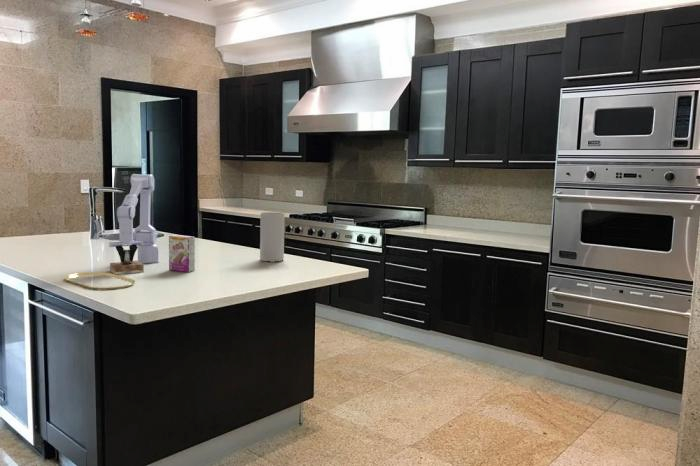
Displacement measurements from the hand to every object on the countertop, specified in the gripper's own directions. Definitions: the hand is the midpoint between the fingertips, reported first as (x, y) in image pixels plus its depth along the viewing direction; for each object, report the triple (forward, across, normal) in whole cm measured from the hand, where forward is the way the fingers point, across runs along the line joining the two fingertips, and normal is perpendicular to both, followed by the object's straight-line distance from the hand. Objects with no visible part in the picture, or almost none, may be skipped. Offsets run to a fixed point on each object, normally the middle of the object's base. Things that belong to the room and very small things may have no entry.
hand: (126, 261), depth 250 cm
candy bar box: (+5, +22, -10) cm, 25 cm away
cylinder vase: (+5, +73, -4) cm, 73 cm away
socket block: (+4, 0, 0) cm, 4 cm away
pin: (+3, 0, 0) cm, 3 cm away
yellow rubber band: (+5, -15, -18) cm, 24 cm away
